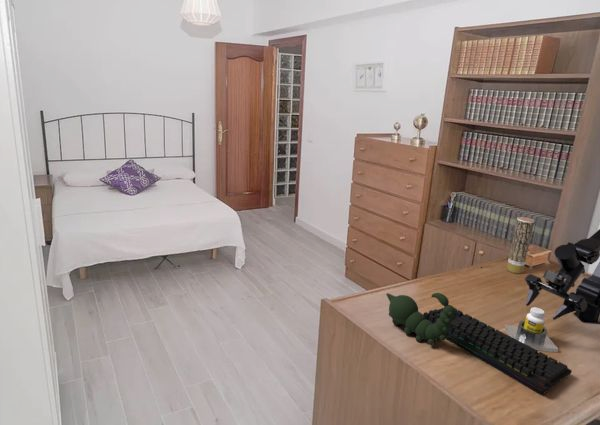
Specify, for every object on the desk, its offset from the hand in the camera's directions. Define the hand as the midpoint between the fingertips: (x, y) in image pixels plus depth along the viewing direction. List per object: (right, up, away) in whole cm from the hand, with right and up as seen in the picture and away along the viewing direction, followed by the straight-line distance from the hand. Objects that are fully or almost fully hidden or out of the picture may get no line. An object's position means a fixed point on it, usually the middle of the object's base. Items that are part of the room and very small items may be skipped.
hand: (539, 311), depth 139 cm
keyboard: (-19, -11, -4) cm, 22 cm away
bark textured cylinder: (+20, +5, +57) cm, 60 cm away
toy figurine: (-41, -8, +2) cm, 41 cm away
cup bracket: (-2, -10, +2) cm, 10 cm away
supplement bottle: (-2, -9, +2) cm, 9 cm away
